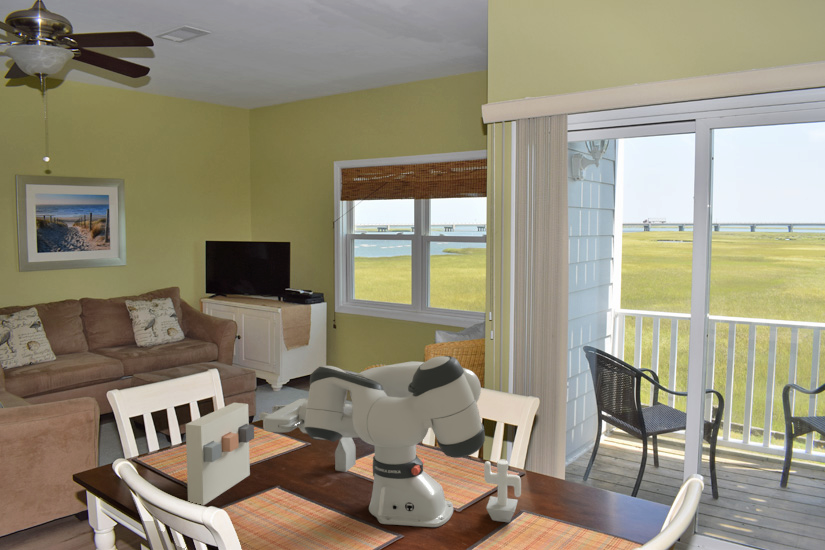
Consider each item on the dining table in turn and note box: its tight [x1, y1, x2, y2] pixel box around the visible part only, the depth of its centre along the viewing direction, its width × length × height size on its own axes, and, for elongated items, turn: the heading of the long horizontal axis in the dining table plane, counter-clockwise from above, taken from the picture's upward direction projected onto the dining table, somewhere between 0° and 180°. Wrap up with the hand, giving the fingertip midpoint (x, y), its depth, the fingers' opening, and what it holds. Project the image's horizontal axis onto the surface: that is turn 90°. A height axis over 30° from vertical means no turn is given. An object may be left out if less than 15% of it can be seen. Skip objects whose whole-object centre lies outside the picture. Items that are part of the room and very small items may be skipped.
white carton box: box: [334, 437, 357, 473], centre depth 194 cm, size 4×7×10 cm, turn 159°
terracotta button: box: [222, 433, 238, 452], centre depth 177 cm, size 4×4×4 cm
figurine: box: [483, 458, 522, 523], centre depth 160 cm, size 7×9×15 cm
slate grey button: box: [203, 442, 221, 462], centre depth 170 cm, size 4×4×4 cm
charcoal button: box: [238, 424, 255, 443], centre depth 185 cm, size 4×4×4 cm
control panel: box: [185, 402, 251, 506], centre depth 178 cm, size 5×22×22 cm, turn 161°
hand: (267, 412), depth 172 cm, fingers open, 5 cm apart
